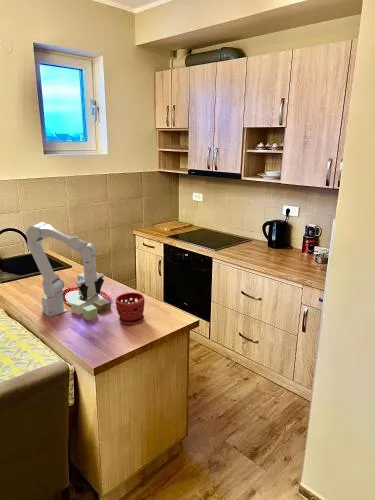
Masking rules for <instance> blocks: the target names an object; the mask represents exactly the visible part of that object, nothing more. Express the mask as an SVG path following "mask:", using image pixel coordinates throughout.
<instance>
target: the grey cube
mask: <svg viewBox="0 0 375 500" xmlns="http://www.w3.org/2000/svg"><path fill="white" fill-rule="evenodd" d="M70 306H71V313H73V314H76V315H79V316H80V315H83V309H82V308H83V307H86V306H87V301H84V300H83V299H82V300H81V299H77V300H75V301H73V302H71V303H70Z"/></svg>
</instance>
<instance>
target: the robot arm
mask: <svg viewBox="0 0 375 500" xmlns="http://www.w3.org/2000/svg"><path fill="white" fill-rule="evenodd" d="M25 235H26V238H27V239H26V241H27V242H26V244H27V247H28V249H29V251H30V253H31V255H32V257H33V260H34V261H35V263H36V266H37V269H38V270H39V272H40V275H41V276H42V278H43V279H42V287H43V293H44V295H45V296H43V297H42V298H41V306H42V313H43V314H45V315H46V316H47V317H53V316H56V315H57V316H58V315H59V314H62V313H65V312H68V309H66V308H65V303H64V295H63V293H64V292H63V289H64V288H65V282H64V281H63V280H62V279H61V277H60V276H59V275H58V274H56V273H55V272H54V269H53V267H52V265H51V263H50V261H49V258H48V256H47V255H46V253H45V250H44V247H43V246H42V242H43V241H44V238H45V239H46V238H52V239H55V240H57V241H59V242H62V243H64V244H65V245H66V246H67V248H69V249H71V250H72V251H75V252H77V253H78V254H80V256H81V257H82V263H83V264H82V265H83V273H84V278H83V279H81V280H80V281H78V280H77V281H76V286H77V288H79V289H80V291H81V293H82V295H83V298H82V299H84V300H88V299H87V290H88V286H86V285H85V284H87V283H89V282H93V281H94V283H95V290H96V293H97V294H98V295H100V294H101V290H102V286H103V284H104V282H105V279H104V278H105V274H104V273H98V274H97V260H96V259H97V258H96V253H97V252H98V248H97V245H96V244H95V243H93V242H88V241H84V240H83V239H80V238H79V237H78V236H77V235H76V236H69V235H67V234H66V233H63V232H61V231H60V230H58V229H56V228H54V227H53V226H52V224H49V223H46V222H44V221H40V222H39V223H36V224H34V225H31V226H29V227H28V228H27V229H26V232H25ZM79 289H78V290H79Z"/></svg>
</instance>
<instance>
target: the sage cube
mask: <svg viewBox="0 0 375 500" xmlns="http://www.w3.org/2000/svg"><path fill="white" fill-rule="evenodd" d="M82 309H83V313H82V317H83V319H85V320H87V322H88V321H91V320H94V319H97V318H98V316H99V314H98V313H99V312H98V311H97V308H96V307H95V306H94V304H89V305H86V307H83V308H82Z"/></svg>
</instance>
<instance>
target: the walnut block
mask: <svg viewBox="0 0 375 500" xmlns="http://www.w3.org/2000/svg"><path fill="white" fill-rule="evenodd" d="M111 303H112V302H111V301H110V300H108V299H106V298H102V299H98V300H96V301H93V306H95V307H96V308H97V312H98V313H103V312H106V311H110V310H111V309H112V308H111V306H112V305H111Z"/></svg>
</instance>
